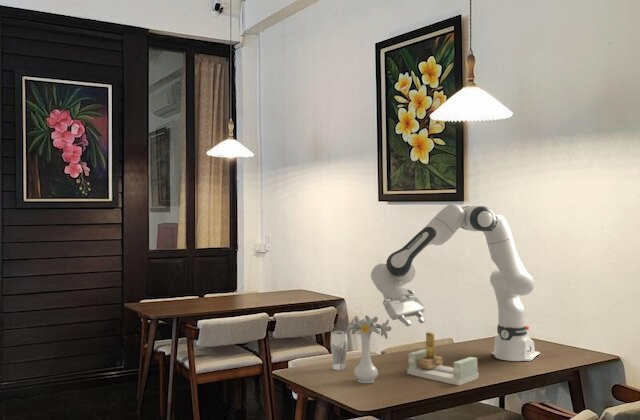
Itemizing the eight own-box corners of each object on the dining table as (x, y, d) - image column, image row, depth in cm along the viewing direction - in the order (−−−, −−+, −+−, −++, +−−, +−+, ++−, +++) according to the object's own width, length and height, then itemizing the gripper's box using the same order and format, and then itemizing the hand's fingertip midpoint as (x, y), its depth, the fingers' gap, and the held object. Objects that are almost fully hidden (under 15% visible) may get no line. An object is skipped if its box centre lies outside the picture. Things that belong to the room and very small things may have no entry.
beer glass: (346, 371, 263) (346, 334, 263) (329, 370, 265) (329, 334, 265) (348, 367, 270) (348, 331, 270) (332, 366, 272) (332, 330, 271)
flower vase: (396, 380, 249) (395, 316, 249) (358, 388, 239) (357, 321, 238) (374, 373, 260) (374, 311, 259) (337, 380, 249) (337, 316, 249)
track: (427, 367, 269) (427, 348, 269) (478, 378, 252) (478, 357, 252) (407, 373, 259) (407, 353, 259) (458, 385, 242) (458, 364, 242)
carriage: (432, 362, 265) (432, 330, 265) (442, 364, 262) (442, 332, 261) (417, 366, 258) (417, 334, 258) (428, 369, 254) (428, 335, 254)
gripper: (385, 295, 262) (405, 322, 255) (415, 290, 277) (434, 315, 270) (376, 305, 265) (396, 332, 258) (407, 299, 280) (425, 325, 273)
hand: (416, 323), depth 264 cm, fingers open, 8 cm apart
